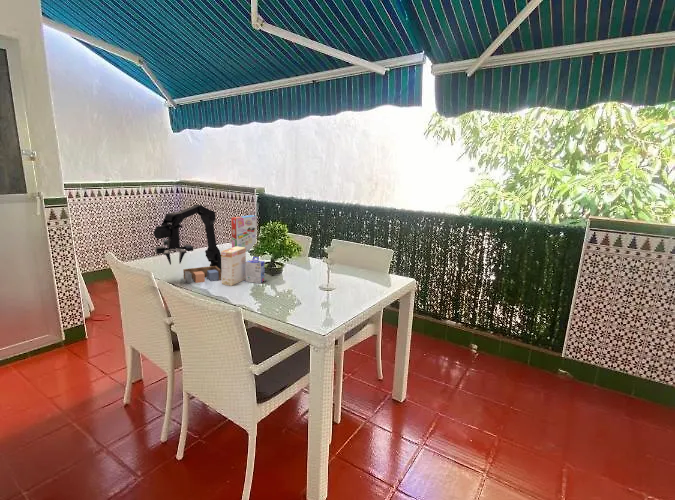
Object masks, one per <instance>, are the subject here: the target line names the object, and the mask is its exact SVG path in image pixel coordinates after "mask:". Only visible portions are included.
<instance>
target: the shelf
mask: <svg viewBox="0 0 675 500" xmlns="http://www.w3.org/2000/svg"><path fill="white" fill-rule="evenodd" d="M207 270H217V271H218V274H219V280H218V281H222V272H221V270H220V269H219V268H218V267H217V266H210V265H209V266H201V267H191V268H184V269H183V280H185V271H189V272H190V273H191V274H192V280H193V272H198V271H202V272H203V273H204V274H205V278H207Z"/></svg>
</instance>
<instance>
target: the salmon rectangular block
mask: <svg viewBox="0 0 675 500" xmlns="http://www.w3.org/2000/svg"><path fill="white" fill-rule="evenodd" d="M192 281H194V283H196V284H198V283H205V282H206V277H205V274H204V273H203V272H202V271H198V272H193V279H192Z"/></svg>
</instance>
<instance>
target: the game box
mask: <svg viewBox="0 0 675 500" xmlns="http://www.w3.org/2000/svg"><path fill="white" fill-rule="evenodd" d="M255 243H256V244H257V215H252V214H251V215H243V216H234V217H233V216H232V217H231V248H233V247H236V246H239V247H245V248H246V252H248V251H251V250H250V249H251V248H252V246H253V245H254V244H255Z"/></svg>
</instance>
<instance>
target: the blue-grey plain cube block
mask: <svg viewBox="0 0 675 500" xmlns="http://www.w3.org/2000/svg"><path fill="white" fill-rule="evenodd" d="M206 279H207V280H208V281H209V282H214V281H220V280H219V274H218V271H217V270H207V277H206Z"/></svg>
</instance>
